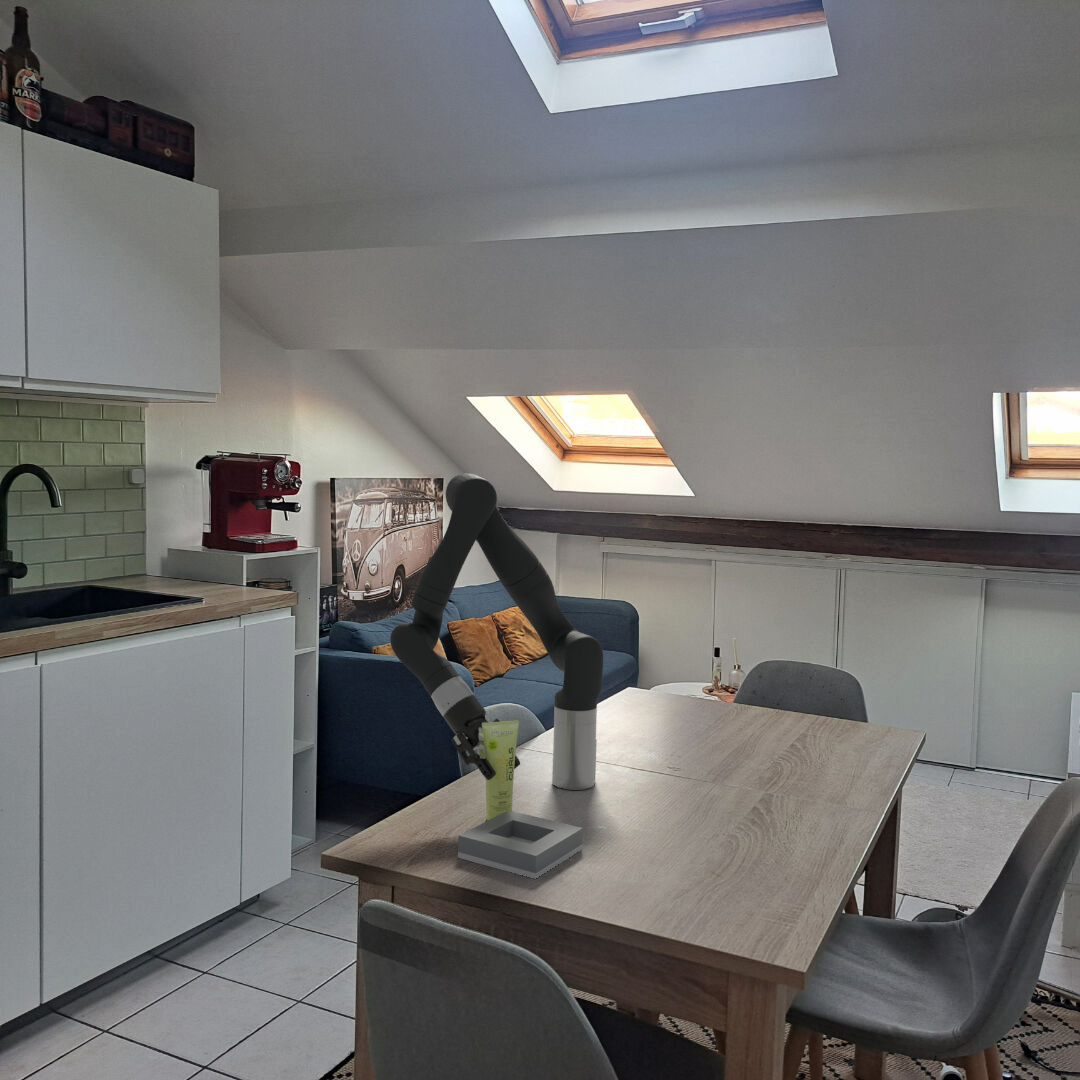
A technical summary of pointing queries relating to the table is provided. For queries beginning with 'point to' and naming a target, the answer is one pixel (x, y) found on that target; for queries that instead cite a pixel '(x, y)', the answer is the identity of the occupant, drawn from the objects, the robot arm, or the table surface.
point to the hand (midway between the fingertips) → (504, 772)
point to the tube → (500, 765)
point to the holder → (520, 843)
